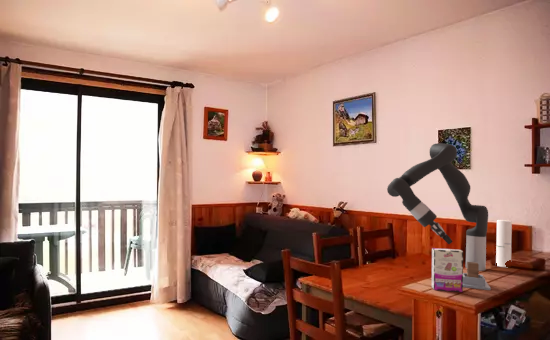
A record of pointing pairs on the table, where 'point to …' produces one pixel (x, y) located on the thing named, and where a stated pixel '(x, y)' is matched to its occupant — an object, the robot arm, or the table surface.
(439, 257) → the candy bar box
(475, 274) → the walnut block
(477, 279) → the socket stand
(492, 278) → the table surface
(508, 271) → the table surface
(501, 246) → the cylindrical container
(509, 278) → the table surface
